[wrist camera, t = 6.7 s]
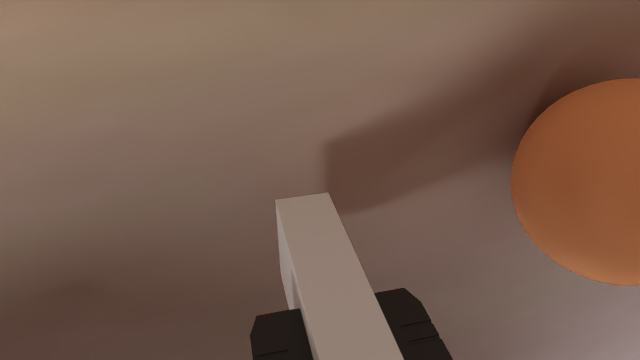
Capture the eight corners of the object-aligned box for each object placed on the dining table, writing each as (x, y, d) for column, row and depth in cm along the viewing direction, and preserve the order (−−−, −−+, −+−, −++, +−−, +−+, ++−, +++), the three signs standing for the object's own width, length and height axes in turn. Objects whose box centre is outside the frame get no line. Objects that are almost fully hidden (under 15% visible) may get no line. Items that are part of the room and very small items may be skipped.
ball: (738, 354, 11) (474, 280, 14) (723, 272, 15) (527, 232, 19) (805, 80, 9) (496, 73, 13) (766, 82, 14) (547, 76, 18)
